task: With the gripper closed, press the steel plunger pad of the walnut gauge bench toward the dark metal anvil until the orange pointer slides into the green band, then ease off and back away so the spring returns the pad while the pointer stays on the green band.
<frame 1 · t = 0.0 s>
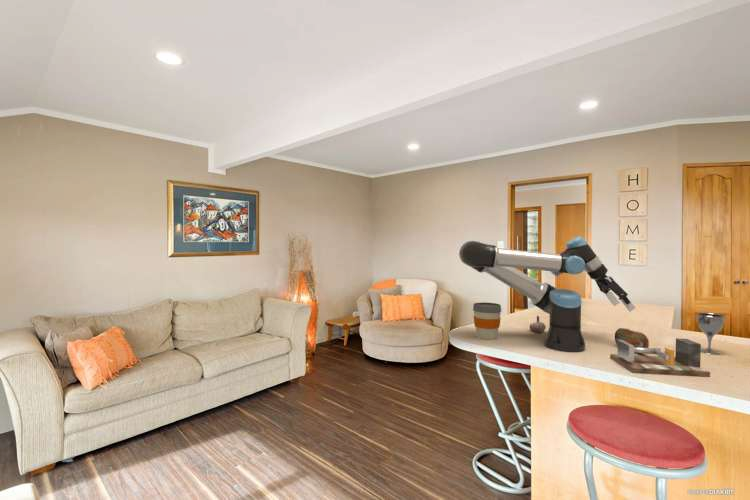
hand: (624, 306, 163), 15 cm above the table, tool tilted 35°, fingers open, 13 cm apart
reusable coffee cup: (486, 337, 170), on the table
garlic bulb: (537, 332, 181), on the table
brown oval slab: (631, 351, 150), on the table
pointer: (669, 356, 124), point 5 cm above the table, slide at 0.0 cm
gauge bench: (657, 366, 130), on the table
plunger: (643, 352, 129), point 5 cm above the table, slide at 0.0 cm
wine glass: (709, 352, 148), on the table
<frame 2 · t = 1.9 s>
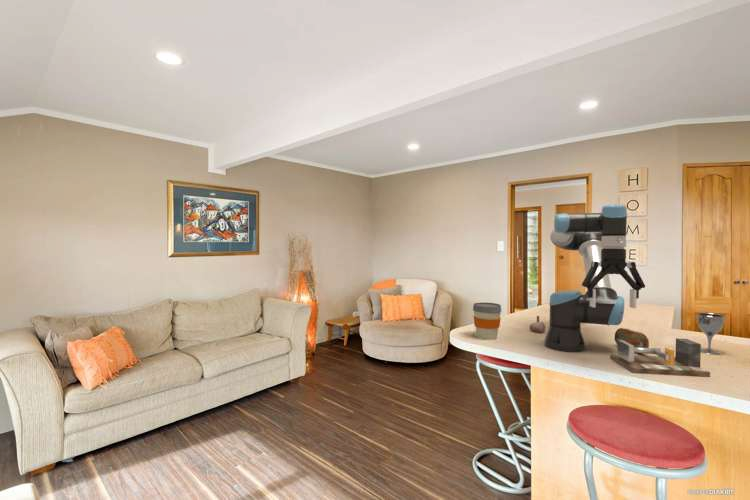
hand: (612, 307, 132), 21 cm above the table, tool pointing down, fingers open, 13 cm apart
nothing on the table moved.
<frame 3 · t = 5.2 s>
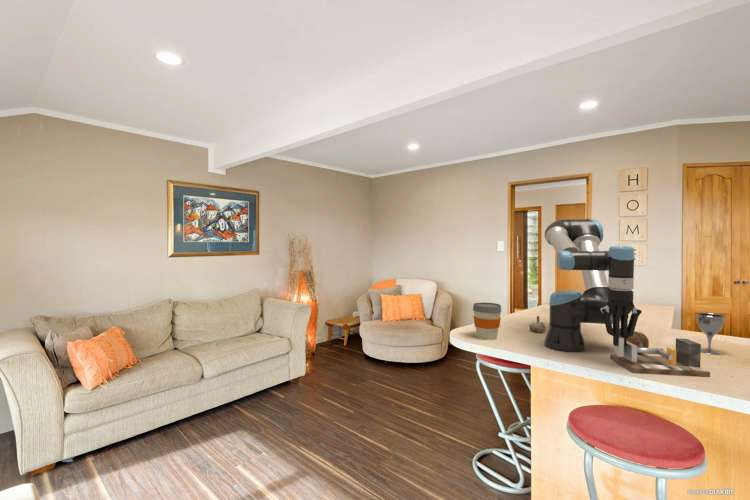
hand: (619, 355, 132), 4 cm above the table, tool pointing down, fingers closed
pointer: (671, 356, 124), point 5 cm above the table, slide at 0.6 cm, touching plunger
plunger: (646, 352, 129), point 5 cm above the table, slide at 0.9 cm, touching gripper, pointer
everything else where it was.
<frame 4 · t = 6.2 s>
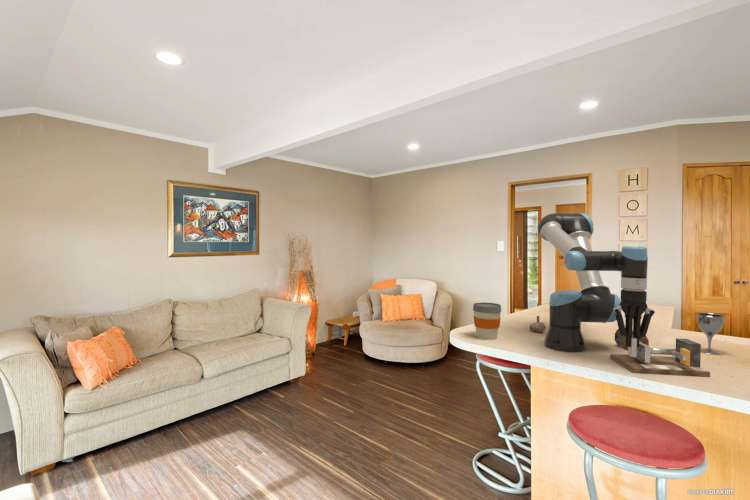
hand: (632, 355, 131), 4 cm above the table, tool pointing down, fingers closed
pointer: (685, 356, 124), point 5 cm above the table, slide at 4.7 cm, touching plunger
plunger: (659, 353, 129), point 5 cm above the table, slide at 5.0 cm, touching gripper, pointer
everything else where it was.
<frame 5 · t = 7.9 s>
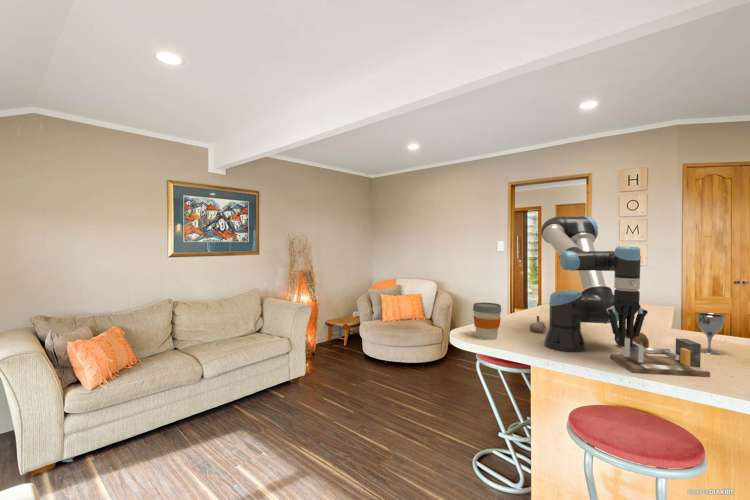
hand: (625, 355, 132), 3 cm above the table, tool pointing down, fingers closed
pointer: (685, 356, 124), point 5 cm above the table, slide at 4.8 cm
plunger: (652, 352, 129), point 5 cm above the table, slide at 3.0 cm, touching gripper
everything else where it was.
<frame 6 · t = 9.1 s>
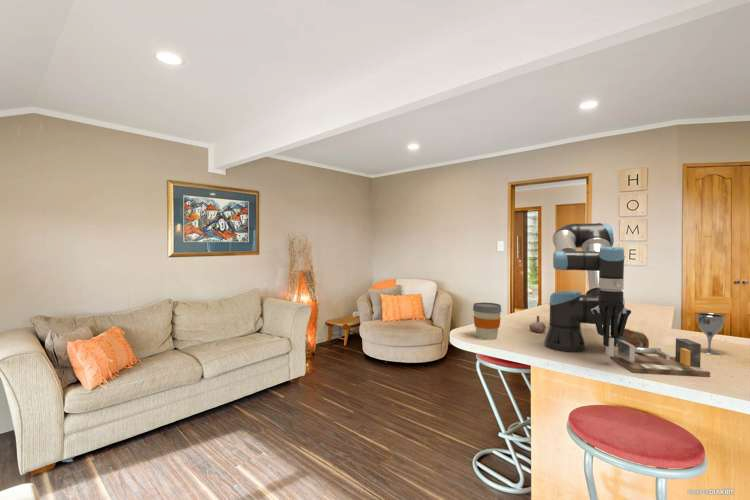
hand: (609, 355, 133), 3 cm above the table, tool pointing down, fingers closed
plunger: (643, 352, 129), point 5 cm above the table, slide at 0.2 cm
everything else where it was.
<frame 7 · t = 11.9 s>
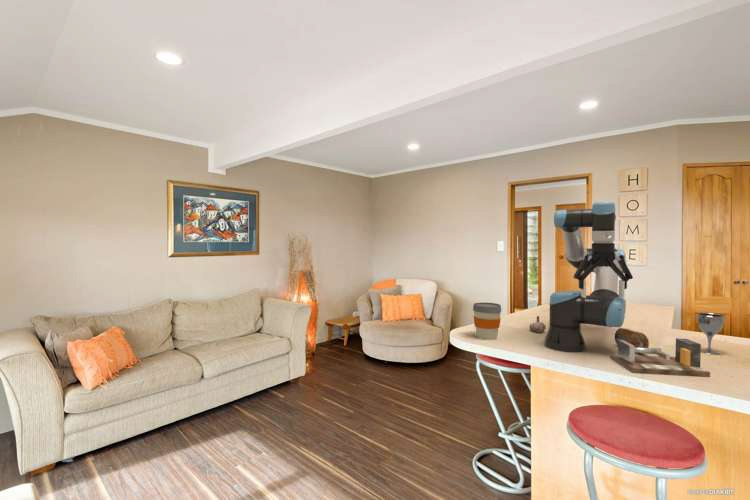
hand: (602, 297, 142), 23 cm above the table, tool pointing down, fingers open, 13 cm apart
nothing on the table moved.
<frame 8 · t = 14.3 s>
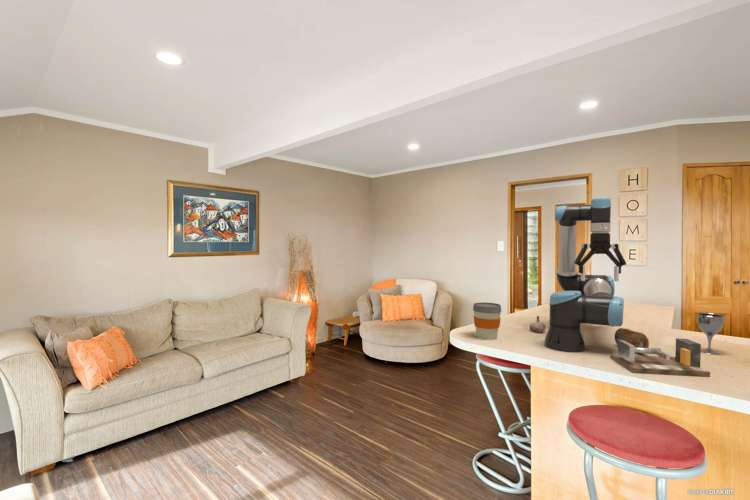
hand: (599, 281, 163), 27 cm above the table, tool pointing down, fingers open, 13 cm apart
nothing on the table moved.
at the end: pointer slide at 4.8 cm; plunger slide at 0.2 cm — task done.
